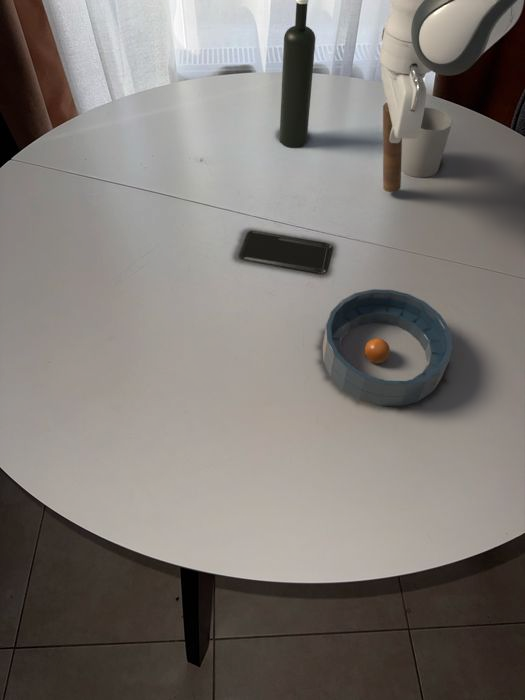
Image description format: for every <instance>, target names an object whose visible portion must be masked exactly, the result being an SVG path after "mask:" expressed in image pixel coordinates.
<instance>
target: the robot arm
mask: <svg viewBox="0 0 525 700" xmlns="http://www.w3.org/2000/svg"><path fill="white" fill-rule="evenodd" d="M524 6H525V0H390V12H389V15H388V17H387V19H386V22H385V24H384V25H383V27H382V31H381V47H380V53H379V62H380V64H381V65H380V66H381V69H380V78H381V84H382V87H383V91H384V92H383V93H384V96H385V100H386V103H387V105H388V109H389V113H390V117H391V122H392V129H390V133H389V140H390V142H391V143H399V142H400V140H401V138H402V139H415V138H416V137H417V136H418V134H419V132H420V128H421V124H422V119H423V114H424V109H425V107H426V102H427V87H426V83H425V81H424V78H426V75H427V74H428V73H430V72H433V73H434V74H438V75H441V76H447V77H449V76H456V75H460V74H462V73H464V72H466V71H467V70H469V69H471V68H472V66H473V65H475V63H476V62H477V61H478V60H479V58H481V56H482V55H483V54H484V53H485V52H486V51H487V50H489V49H490V48H491V47H493V45H494V44H496V43H497V42H498V41H499V40H500V39H501V38H502V37H504V36H505V35H506V34H507V33H508V32H509V31H510V30H511V29H512V28H513V27H514V26H515V25H516V24H517V22H518V21H519V19H520V17H521V16H522V13H523V9H524Z"/></svg>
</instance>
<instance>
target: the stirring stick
mask: <svg viewBox="0 0 525 700" xmlns="http://www.w3.org/2000/svg"><path fill="white" fill-rule="evenodd" d="M390 129H392V122H391V117H390V113H389V109H388V105H387V102H385V103H384V104H383V105H382V189H383V190H384V191H385V192H387V193H394V192H398V191H399V190H401V187H402V171H401V158H402V138H401V140H400V142H399V143H391V142H390V140H389V133H390Z"/></svg>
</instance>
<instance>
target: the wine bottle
mask: <svg viewBox="0 0 525 700" xmlns="http://www.w3.org/2000/svg"><path fill="white" fill-rule="evenodd" d="M295 3H296V4H295V18H294V19H295V21H294V25H293V26H291V27H289V28H287V30H286V31H285V33H284V36H283V53H282V71H281V73H282V74H281V94H280V96H281V97H280V117H279V118H280V119H279V120H280V121H279V142H280V144H281V145H283V146H284V147H287V148H294V149H295V148H301V147H303V146H304V145H306V143H307V141H308V133H309V132H308V131H309V121H310V120H309V119H310V111H311V110H310V108H311V98H312V97H311V96H312V95H311V94H312V87H313V86H312V84H313V75H314V74H313V73H314V64H315V63H314V61H315V50H316V35H315V34H316V33H315V32H314V31H313V29H312V28H310V27H309V26H307V16H308V3H309V0H295Z"/></svg>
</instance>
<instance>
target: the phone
mask: <svg viewBox="0 0 525 700" xmlns="http://www.w3.org/2000/svg"><path fill="white" fill-rule="evenodd" d="M332 249H333V247H332V245H331V244H330V243H328V242H325V241H318V240H312V239H307V238H302V237H301V238H300V237H295V236H290V235H284V234H279V233H278V234H277V233H273V232H272V233H271V232H266V231H261V230H255V229H254V230H253V229H251V230H248V232H247V231H246V234H245V236H244V239H243V241H242V244H241V247H240V249H239V252H238V254H237V255H238V256H237V257H238V259H239V260H240V261H243V262H247V263H252V264H259V265H264V266H271V267H275V268H282V269H287V270H293V271H297V272H303V273H308V274H315V275H323V274H325V273H326V272H327V270H328V265H329V262H330V259H331V258H330V257H331V254H332Z"/></svg>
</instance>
